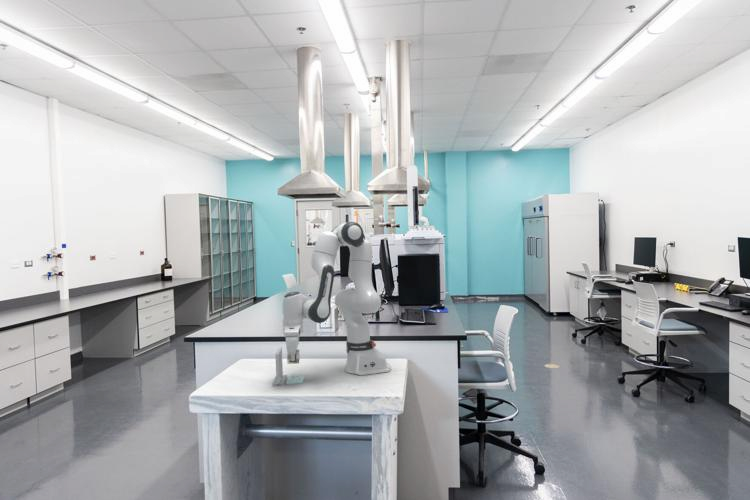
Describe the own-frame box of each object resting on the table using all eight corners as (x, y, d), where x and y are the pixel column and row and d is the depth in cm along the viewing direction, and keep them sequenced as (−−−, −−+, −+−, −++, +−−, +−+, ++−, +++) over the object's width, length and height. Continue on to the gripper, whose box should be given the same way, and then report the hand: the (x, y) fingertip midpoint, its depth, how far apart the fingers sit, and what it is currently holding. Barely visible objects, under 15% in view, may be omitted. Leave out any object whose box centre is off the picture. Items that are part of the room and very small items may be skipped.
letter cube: (299, 360, 208) (299, 349, 208) (298, 363, 203) (298, 352, 203) (288, 360, 208) (288, 349, 207) (287, 363, 202) (287, 352, 202)
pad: (303, 378, 210) (303, 376, 210) (302, 383, 203) (302, 381, 203) (288, 378, 209) (288, 377, 209) (286, 384, 202) (286, 382, 202)
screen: (286, 376, 212) (285, 347, 212) (284, 385, 200) (282, 354, 200) (275, 377, 212) (274, 347, 211) (272, 385, 200) (271, 354, 199)
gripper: (288, 324, 215) (288, 353, 215) (283, 333, 194) (284, 365, 195) (301, 323, 215) (302, 352, 216) (298, 332, 195) (299, 364, 196)
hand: (293, 358), depth 205 cm, fingers closed on letter cube, 5 cm apart
